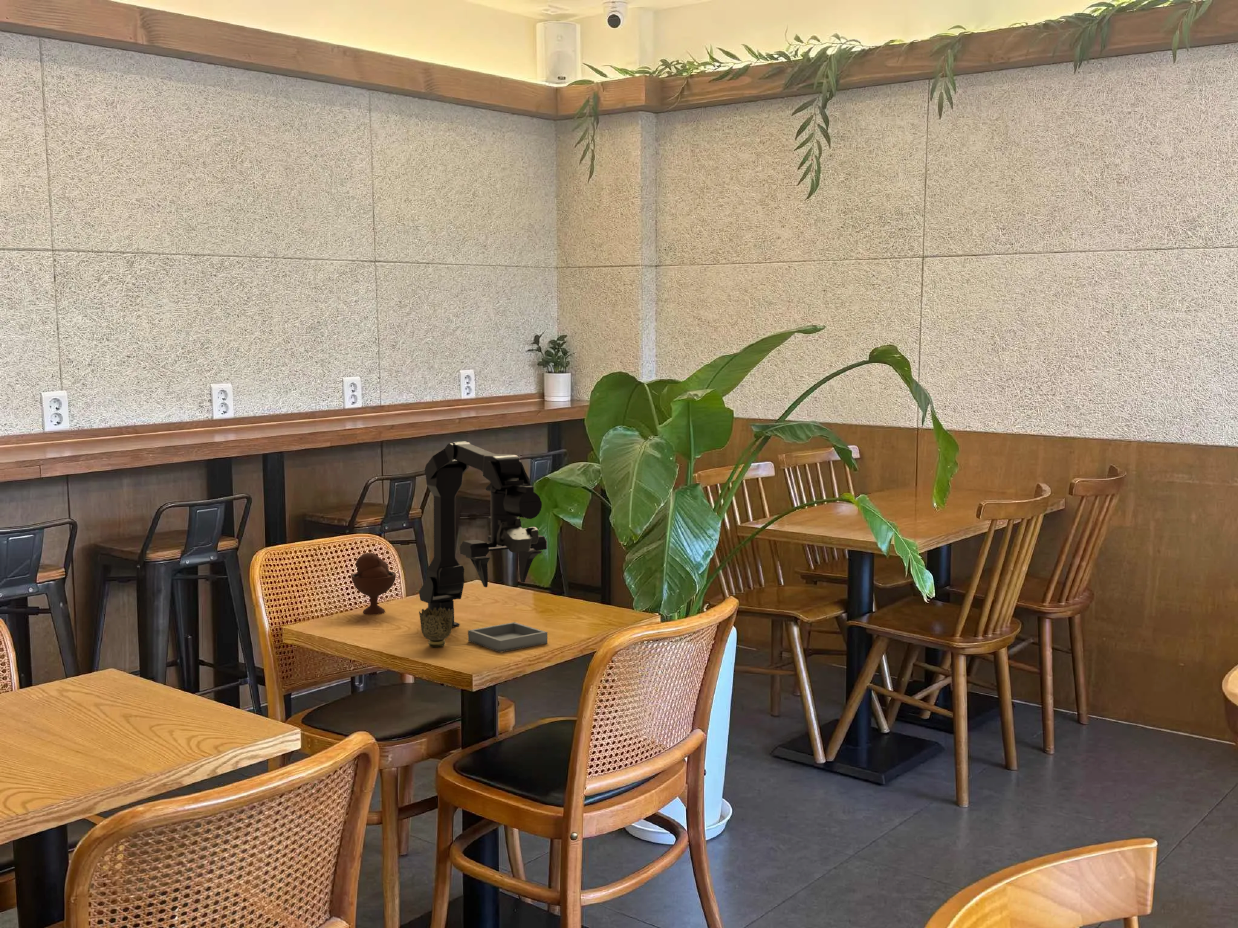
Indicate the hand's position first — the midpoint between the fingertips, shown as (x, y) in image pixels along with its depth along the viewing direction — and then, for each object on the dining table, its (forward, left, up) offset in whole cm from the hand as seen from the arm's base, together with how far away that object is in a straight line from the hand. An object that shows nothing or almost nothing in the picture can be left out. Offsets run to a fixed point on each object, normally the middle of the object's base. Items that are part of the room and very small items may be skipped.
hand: (504, 584), depth 266 cm
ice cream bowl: (-50, -4, -14) cm, 52 cm away
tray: (-4, +4, -14) cm, 15 cm away
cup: (-11, -10, -14) cm, 21 cm away
